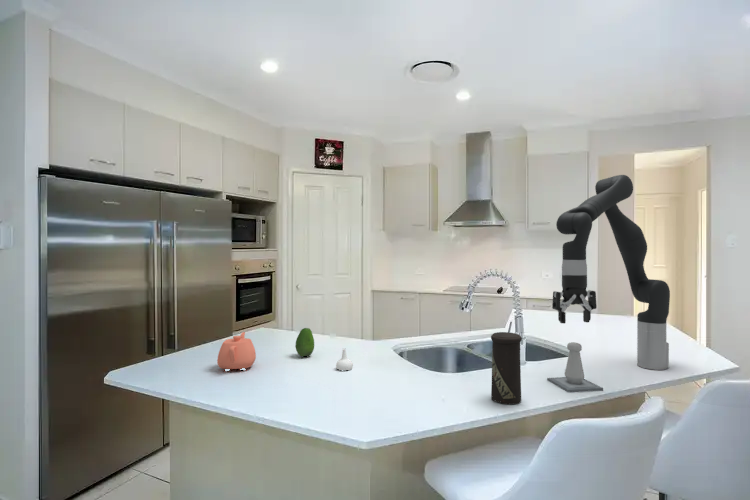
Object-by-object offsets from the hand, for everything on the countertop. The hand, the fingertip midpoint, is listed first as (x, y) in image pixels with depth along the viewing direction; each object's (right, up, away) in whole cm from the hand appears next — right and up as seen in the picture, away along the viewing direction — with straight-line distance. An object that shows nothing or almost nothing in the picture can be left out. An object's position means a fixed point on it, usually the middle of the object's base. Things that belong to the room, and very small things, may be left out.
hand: (574, 322), depth 137 cm
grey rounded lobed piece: (0, -20, 0) cm, 20 cm away
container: (-26, -21, -13) cm, 36 cm away
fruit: (-95, -21, +36) cm, 104 cm away
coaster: (0, -21, 0) cm, 21 cm away
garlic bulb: (-77, -21, +19) cm, 82 cm away
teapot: (-118, -21, +21) cm, 122 cm away
